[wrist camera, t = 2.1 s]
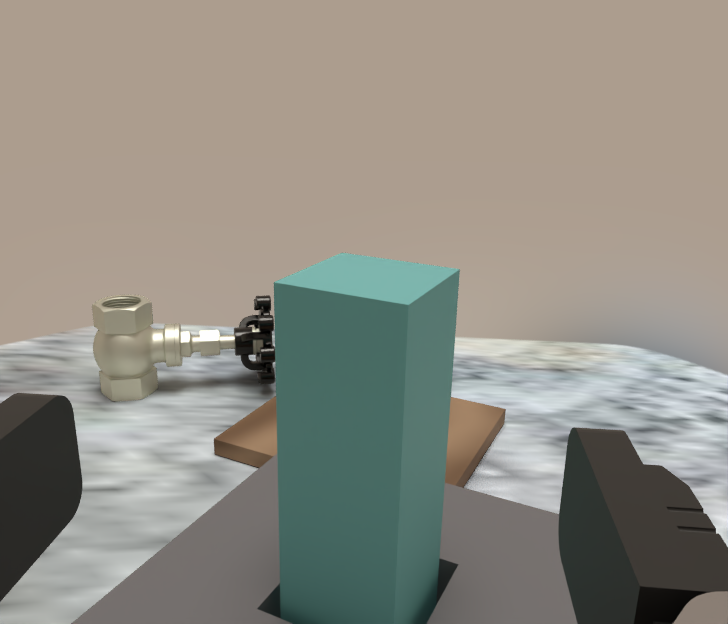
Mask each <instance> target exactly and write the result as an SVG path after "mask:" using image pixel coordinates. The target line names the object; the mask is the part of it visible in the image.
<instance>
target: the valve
mask: <svg viewBox="0 0 728 624" xmlns="http://www.w3.org/2000/svg"><path fill="white" fill-rule="evenodd" d="M92 310H93V320H94V327H96V328H97V329H98V331H97V333H96V335H95V338H94V343H93V353H94V357H95V360H96V362H97V364H98V366H99V368H100V369H101V371H99V376H100V385H101V392H102V393H103V394H104V395H105V396H106V397H108V398H109V399H110V400H111V401H131V400H140V399H143V398H145V397H147V396H148V395H150V394H151V393H153V392H154V391H155V390H157V389H158V378H157V368H156V367H154V366H153V365H154V364H155V363H161V362H165V363H166V365H167V367H174V366H182V357H191V354H192V353H193V352H201V356H214V355H220V350H222V349H235V355H236V356H239V355H241V361H242V363H243V365H244V366H245V367H246V368H248V369H250V370H262V371H264V372H258V383H260V384H273V383H275V373H274V368H273V366H272V362H275V347H274V346H273V345H272V331H273V330H274V320H273V316H272V315H270V310H271V299H270V296H256V299H254V310H259V315H252V316H248V317H246V318H244V319H243V320H242V321H241V322H240V325H239V328H234V335H221V336H219V330H208V331H200V335H199V336H192V335H191V334H190V332H189V331H188V332H181V326H180V324H165V327H164V329H153V328H152V327H151V326H150V325H152V324H153V314H152V303H151V302H150V301H149V300H148V299H147V298H145V297H143V296H139V295H116V296H110V297H106V298H103V299H100V300H98V301H97V302H95V303H94V304H93V305H92ZM249 325H254V327H248V326H249ZM248 355H256V361H251V360H249V357H248Z"/></svg>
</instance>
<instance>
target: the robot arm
mask: <svg viewBox="0 0 728 624" xmlns="http://www.w3.org/2000/svg"><path fill="white" fill-rule="evenodd" d="M81 494H82V475H81V467H80V460H79V452H78V444H77V436H76V429H75V421H74V413H73V408H72V405H71V403H70V401H69V400H68V399H67V398H66V397H65V396H60V395H43V394H27V393H17V394H14V395H12V396H10V397H9V398H8V399H6V400H5V401H3V402H2V403H0V601H1V600H2V599H3V598H4V597H5V596H6V595H7V593H8V592H9V591H10V590H11V589H12V588H13V586H14V585H15V584H16V583H17V582H18V581H19V580H20V578H21V577H22V576H23V575H24V574H25V573H26V572H27V570H28V569H29V568H30V567H31V566H32V565H33V563H34V562H35V561H36V560H37V559H38V558H39V557H40V555H41V554H42V553H43V552H44V551H45V550H46V549H47V547H48V546H49V545H50V544H51V543H52V542H53V540H54V539H55V538H56V537H57V536H58V535H59V534H60V532H61V531H62V530H63V529H64V528H65V527H66V525H67V524H68V523H69V522H70V521H71V519H72V518H73V517H74V515H75V513H76V511H77V509H78V506H79V503H80V499H81ZM558 536H559V550H560V557H561V562H562V566H563V570H564V574H565V577H566V581H567V585H568V589H569V593H570V597H571V601H572V605H573V608H574V612H575V616H576V620H577V624H728V547H727V546H726V544H725V542H724V541H723V539H722V538H721V536H720V535H719V534H716V528H715V527H714V525H713V524H712V522H711V520H710V519H709V517H708V516H707V514H704V513H703V508H702V506H701V505H700V503H699V501H698V500H697V498H696V497H695V495H694V494H693V492H692V490H691V489H690V487H689V486H688V485H687V484H685V483H684V482H683V481H681V480H680V479H679V478H677V477H676V476H675V475H673V474H672V473H671V472H669V471H668V470H667V469H665V468H664V467H663V466H659V465H644V464H643V463H642V461H641V460H640V458H639V456H638V454H637V452H636V450H635V449H634V447H633V445H632V443H631V441H630V439H629V438H628V436H627V434H626V433H625V432H624V431H622V430H605V429H589V428H572V430H571V432H570V434H569V439H568V445H567V453H566V462H565V470H564V479H563V487H562V496H561V504H560V513H559V527H558Z"/></svg>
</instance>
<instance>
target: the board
mask: <svg viewBox="0 0 728 624" xmlns="http://www.w3.org/2000/svg"><path fill="white" fill-rule="evenodd" d="M505 410H506V409H502V408H498V407H494V406H489V405H485V404H480V403H476V402H471V401H467V400H462V399H458V398H453V397H451V401H450V415H449V429H448V443H447V458H446V472H445V483H448V484H451V485H455V486H458V487H462V488H463V487H464V486H465V484H466V483H467V481H468V479H469V478H470V476H471V475H472V473H473V471H474V470H475V468H476V467H477V465H478V464H479V462H480V460H481V459H482V457H483V456H484V454H485V453H486V451H487V449H488V448H489V446H490V445H491V443H492V441H493V440H494V438H495V437H496V435H497V434H498V432H499V430H500V429H501V427H502V426H503V424H504V420H505ZM214 450H215V454H216V455H219V456H223V457H226V458H229V459H232V460H236V461H239V462H242V463H246V464H249V465H252V466H255V467H259V468H260V467H261V466H263V465H264V464H265V463H266V462H267V461H269V460H270V459H271V458H272V457H273V456H275V455H276V454H277V412H276V396H275V397H274V398H272V399H271V400H269V401H268V402H266V403H265V404H263V405H262V406H261V407H259V408H258V409H256V410H255V411H253V412H252V413H250V414H249V415H248V416H246V417H245V418H243V419H242V420H240V421H239V422H238V423H236V424H235V425H233V426H232V427H230V428H229V429H227V430H226V431H225V432H223V433H222V434H220V435H219V436H217V437H216V438H214Z"/></svg>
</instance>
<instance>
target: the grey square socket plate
mask: <svg viewBox="0 0 728 624" xmlns="http://www.w3.org/2000/svg"><path fill="white" fill-rule="evenodd" d="M558 527H559V514H555V513H552V512H548V511H545V510H541V509H538V508H534V507H530V506H527V505H523V504H520V503H516V502H512V501H509V500H505V499H502V498H498V497H494V496H491V495H487V494H484V493H480V492H476V491H473V490H469V489H466V488H462V487H458V486H455V485H451V484H448V483H445V486H444V501H443V515H442V529H441V543H440V558H439V572H438V586H437V601H436V607H435V609H434V611H433V613H432V614H431V616H430V618H429V620H428V622H427V624H577V620H576V616H575V612H574V608H573V605H572V601H571V597H570V593H569V589H568V585H567V581H566V577H565V574H564V570H563V566H562V562H561V557H560V550H559V536H558ZM72 624H293V623H290V622H288V621H285V620H283V619H281V609H280V560H279V510H278V461H277V454H276V455H275V456H273V457H272V458H271V459H270V460H269V461H267V462H266V463H265V464H264V465H263V466H261V467H260V468H259V469H258V470H257V471H255V472H254V473H253V474H252V475H250V476H249V477H248V478H247V479H246V480H244V481H243V482H242V483H241V484H240V485H238V486H237V487H236V488H235V489H234V490H232V491H231V492H230V493H229V494H228V495H226V496H225V497H224V498H223V499H221V500H220V501H219V502H218V503H217V504H215V505H214V506H213V507H212V508H211V509H209V510H208V511H207V512H206V513H205V514H203V515H202V516H201V517H200V518H198V519H197V520H196V521H195V522H194V523H192V524H191V525H190V526H189V527H188V528H186V529H185V530H184V531H183V532H182V533H180V534H179V535H178V536H177V537H176V538H174V539H173V540H172V541H171V542H169V543H168V544H167V545H166V546H165V547H163V548H162V549H161V550H160V551H159V552H157V553H156V554H155V555H154V556H153V557H151V558H150V559H149V560H148V561H147V562H145V563H144V564H143V565H142V566H140V567H139V568H138V569H137V570H136V571H134V572H133V573H132V574H131V575H130V576H128V577H127V578H126V579H125V580H124V581H122V582H121V583H120V584H119V585H118V586H116V587H115V588H114V589H113V590H111V591H110V592H109V593H108V594H107V595H105V596H104V597H103V598H102V599H101V600H99V601H98V602H97V603H96V604H95V605H93V606H92V607H91V608H90V609H88V610H87V611H86V612H85V613H84V614H82V615H81V616H80V617H79V618H78V619H76V620H75V621H74V622H73V623H72Z"/></svg>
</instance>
